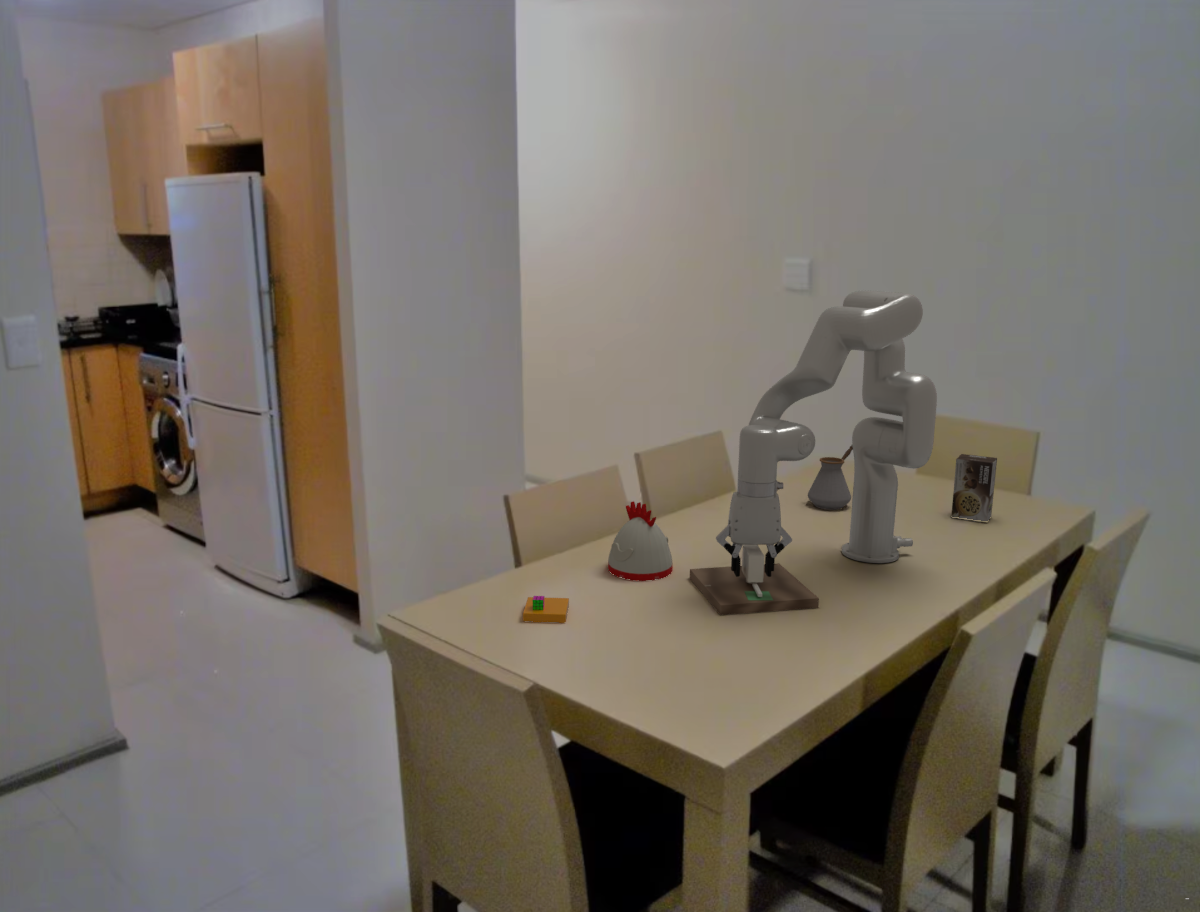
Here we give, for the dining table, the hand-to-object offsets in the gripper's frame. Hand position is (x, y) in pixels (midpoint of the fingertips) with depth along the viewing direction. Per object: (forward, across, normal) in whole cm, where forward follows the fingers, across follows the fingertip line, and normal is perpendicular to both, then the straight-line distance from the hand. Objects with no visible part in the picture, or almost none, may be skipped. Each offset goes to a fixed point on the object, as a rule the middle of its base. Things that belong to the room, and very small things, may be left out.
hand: (752, 573), depth 185 cm
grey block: (+2, 0, +2) cm, 3 cm away
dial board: (+4, 0, 0) cm, 4 cm away
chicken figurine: (+4, +22, -13) cm, 26 cm away
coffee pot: (+4, -36, -66) cm, 76 cm away
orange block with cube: (+5, +41, +11) cm, 43 cm away
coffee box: (+4, -67, -51) cm, 85 cm away
